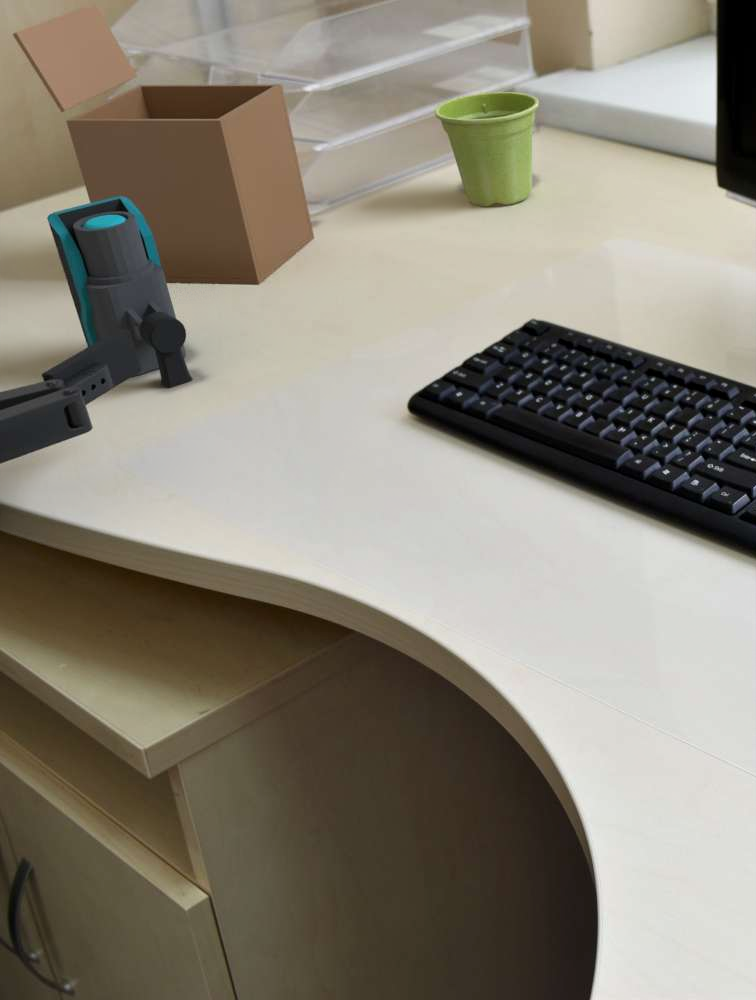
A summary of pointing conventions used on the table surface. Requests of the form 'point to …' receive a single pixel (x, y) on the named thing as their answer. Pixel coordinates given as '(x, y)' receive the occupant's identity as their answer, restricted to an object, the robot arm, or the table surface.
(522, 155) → the plant pot
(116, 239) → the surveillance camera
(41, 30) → the flap
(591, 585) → the table surface
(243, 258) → the carton
